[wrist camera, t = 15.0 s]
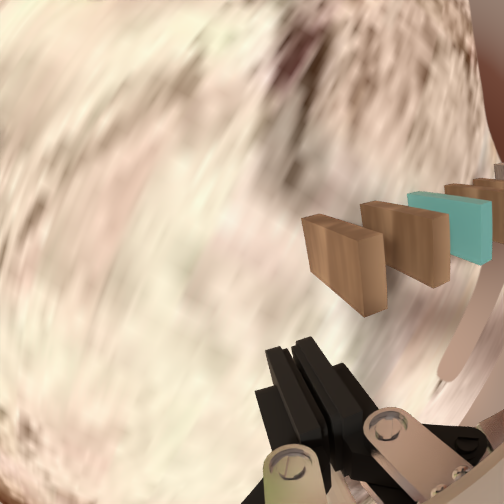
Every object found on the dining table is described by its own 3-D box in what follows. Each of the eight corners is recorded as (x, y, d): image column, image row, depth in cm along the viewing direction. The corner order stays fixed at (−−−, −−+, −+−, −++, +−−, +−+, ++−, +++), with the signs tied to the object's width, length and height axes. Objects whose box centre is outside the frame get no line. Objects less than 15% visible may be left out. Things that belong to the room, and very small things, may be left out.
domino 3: (419, 191, 27) (491, 201, 17) (423, 236, 28) (491, 259, 19) (407, 193, 27) (480, 204, 17) (411, 240, 28) (480, 265, 18)
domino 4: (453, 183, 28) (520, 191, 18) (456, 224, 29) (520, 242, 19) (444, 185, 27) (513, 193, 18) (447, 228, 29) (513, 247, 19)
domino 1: (319, 213, 26) (382, 233, 16) (328, 266, 27) (387, 308, 17) (301, 218, 26) (357, 241, 16) (310, 271, 27) (364, 317, 17)
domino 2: (375, 200, 26) (448, 214, 17) (381, 249, 28) (449, 280, 18) (359, 204, 26) (432, 219, 17) (366, 254, 27) (433, 288, 18)
